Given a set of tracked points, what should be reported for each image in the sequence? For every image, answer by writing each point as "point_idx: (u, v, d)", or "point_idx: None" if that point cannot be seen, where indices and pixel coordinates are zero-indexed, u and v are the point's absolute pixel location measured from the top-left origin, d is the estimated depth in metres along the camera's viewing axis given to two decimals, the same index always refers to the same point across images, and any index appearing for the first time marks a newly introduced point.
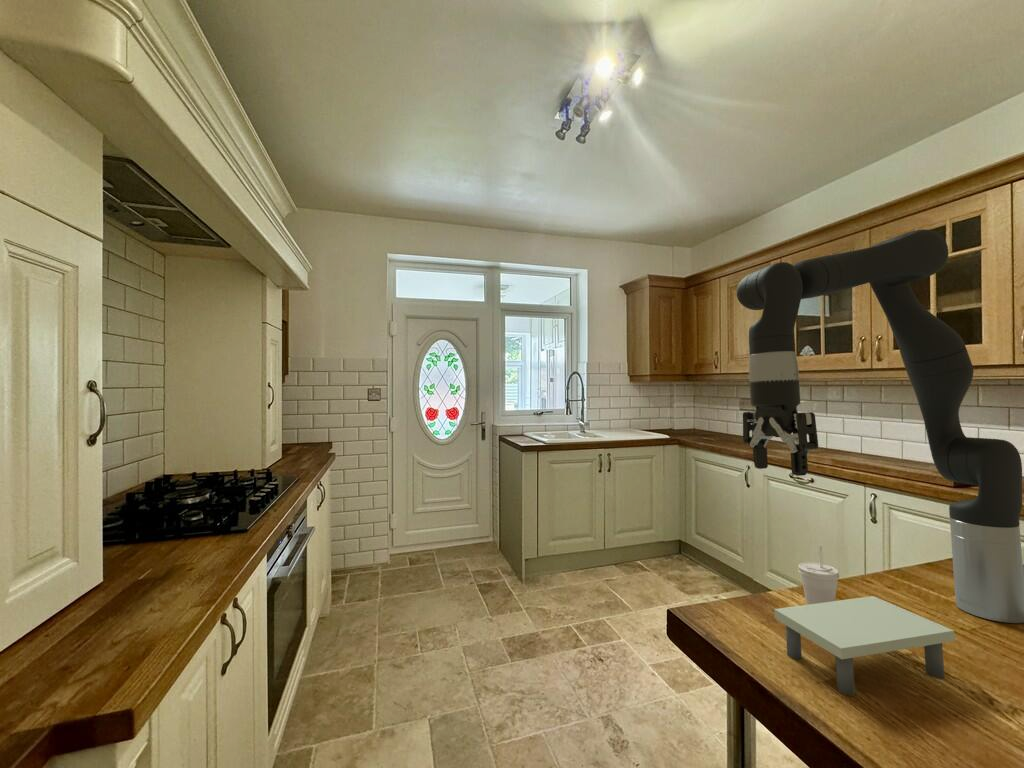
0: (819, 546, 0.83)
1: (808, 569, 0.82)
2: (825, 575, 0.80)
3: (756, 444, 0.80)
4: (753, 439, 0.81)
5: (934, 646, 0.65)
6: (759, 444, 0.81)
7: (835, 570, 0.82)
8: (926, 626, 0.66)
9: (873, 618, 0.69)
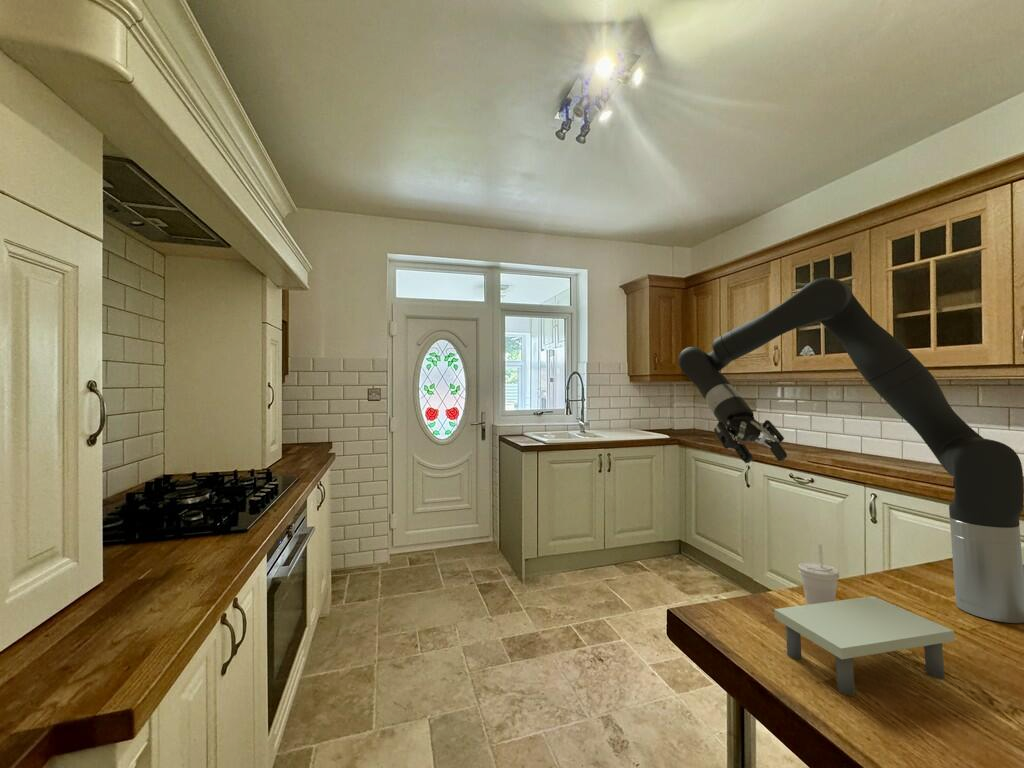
0: (819, 546, 0.83)
1: (808, 569, 0.82)
2: (825, 575, 0.80)
3: (768, 445, 0.99)
4: None
5: (934, 646, 0.65)
6: (770, 444, 0.99)
7: (835, 570, 0.82)
8: (926, 626, 0.66)
9: (873, 618, 0.69)
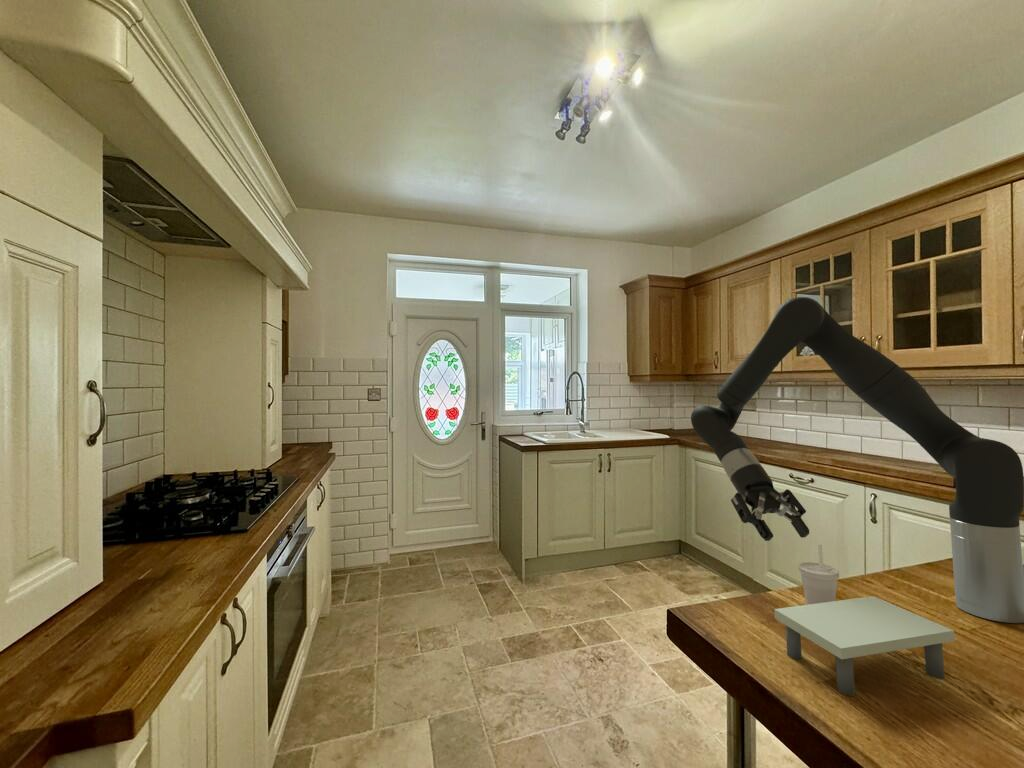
0: (819, 546, 0.83)
1: (808, 569, 0.82)
2: (825, 575, 0.80)
3: (789, 518, 0.94)
4: None
5: (934, 646, 0.65)
6: (791, 517, 0.94)
7: (835, 570, 0.82)
8: (926, 626, 0.66)
9: (873, 618, 0.69)
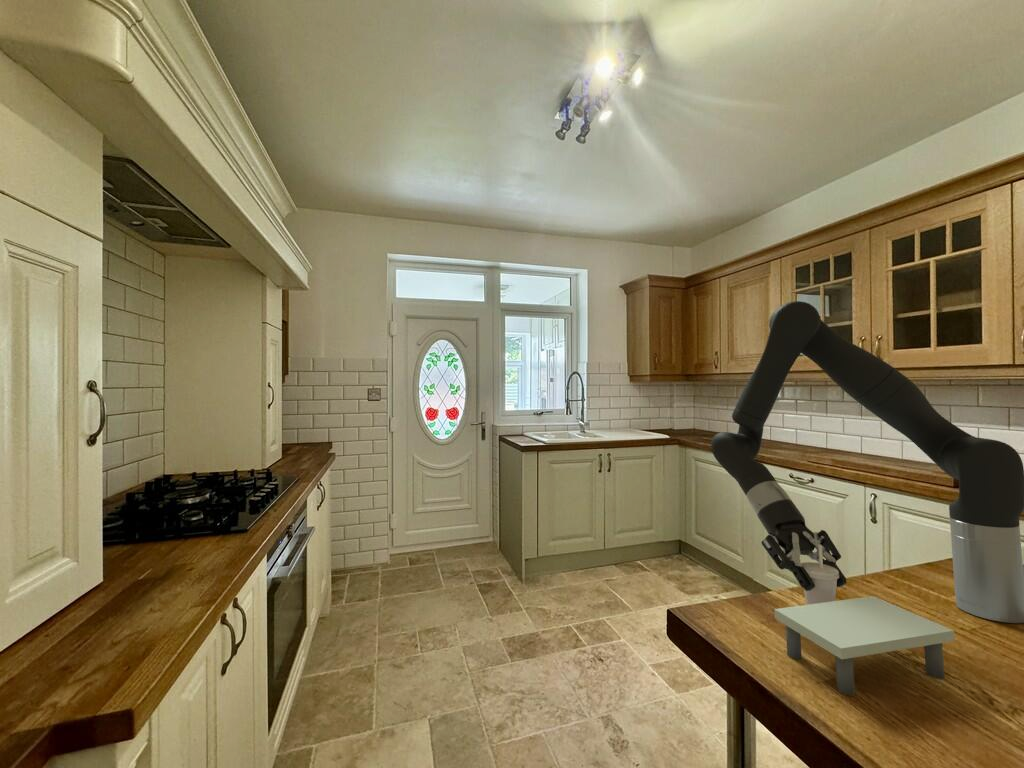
0: (819, 546, 0.83)
1: (808, 569, 0.82)
2: (825, 575, 0.80)
3: None
4: None
5: (934, 646, 0.65)
6: (825, 562, 0.85)
7: (835, 570, 0.82)
8: (926, 626, 0.66)
9: (873, 618, 0.69)
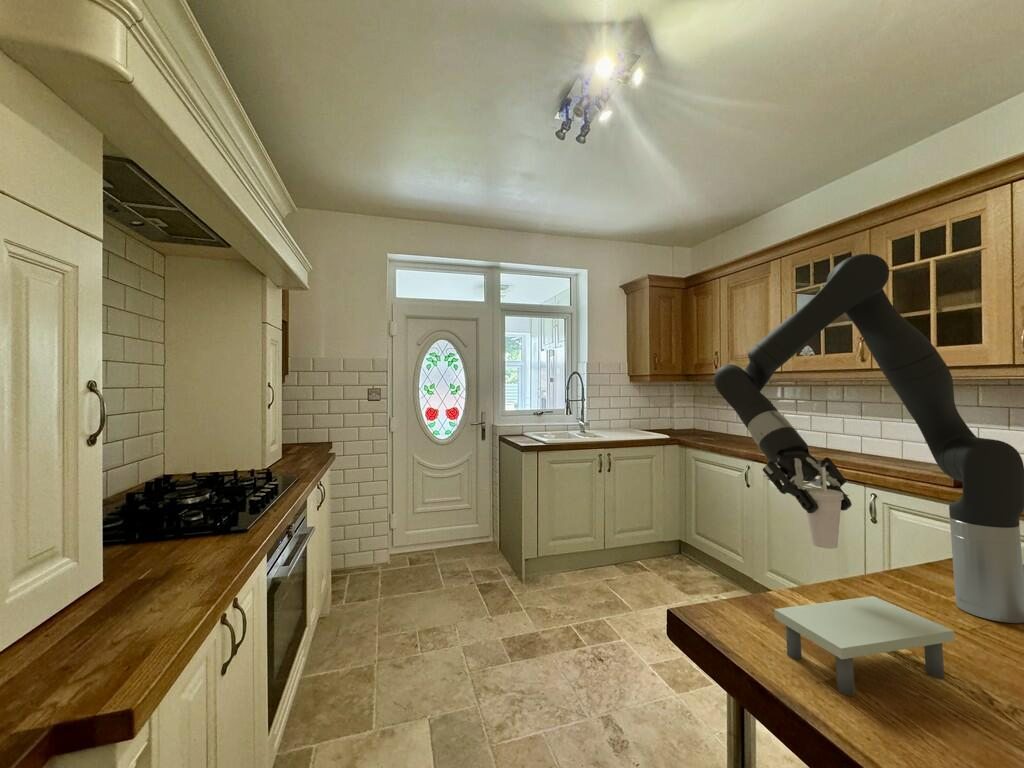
0: (822, 468, 0.80)
1: (811, 492, 0.79)
2: (829, 496, 0.77)
3: None
4: None
5: (934, 646, 0.65)
6: (829, 487, 0.82)
7: (839, 492, 0.79)
8: (926, 626, 0.66)
9: (873, 618, 0.69)
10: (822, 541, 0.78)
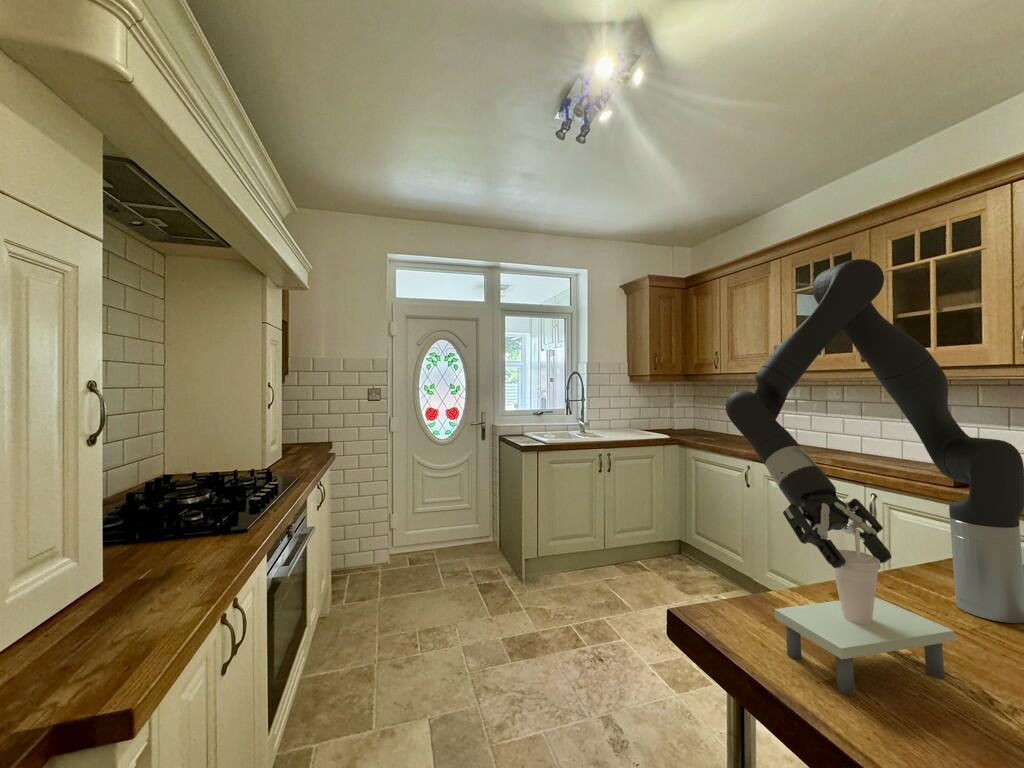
0: (856, 530, 0.69)
1: None
2: (864, 565, 0.66)
3: (860, 537, 0.72)
4: None
5: (934, 646, 0.65)
6: (863, 535, 0.72)
7: (875, 559, 0.68)
8: (926, 626, 0.66)
9: (873, 618, 0.69)
10: (855, 616, 0.68)
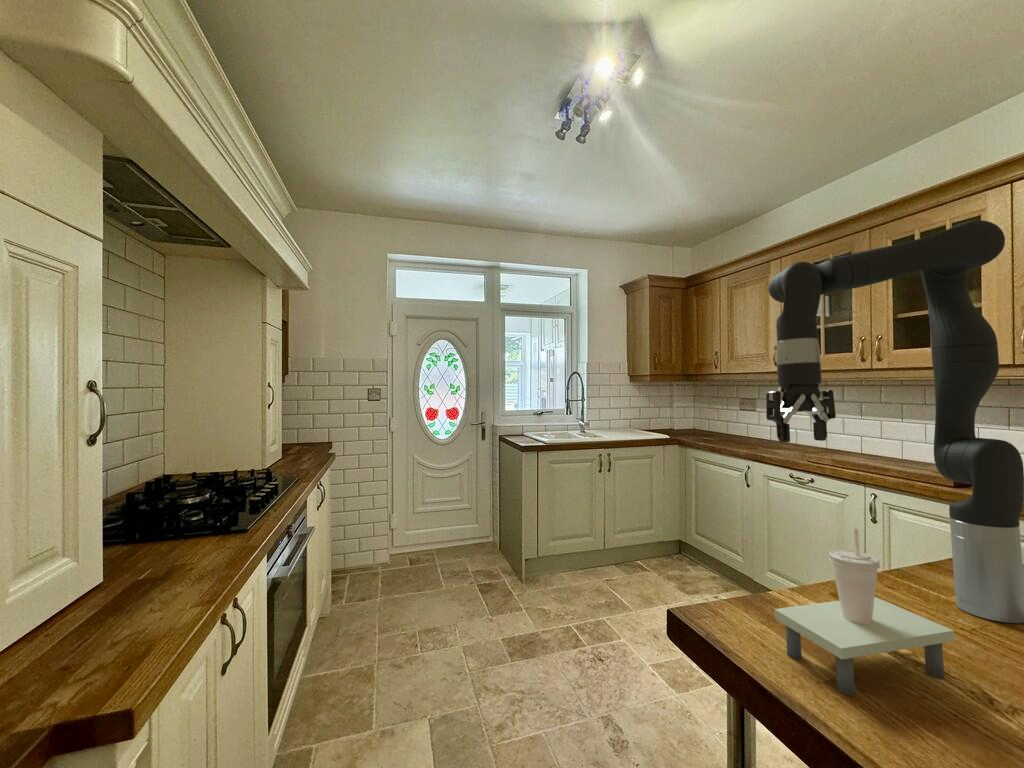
0: (855, 530, 0.69)
1: (842, 558, 0.69)
2: (864, 564, 0.66)
3: (814, 418, 0.91)
4: None
5: (934, 646, 0.65)
6: (817, 419, 0.90)
7: (874, 558, 0.68)
8: (926, 626, 0.66)
9: (873, 618, 0.69)
10: (855, 616, 0.68)
